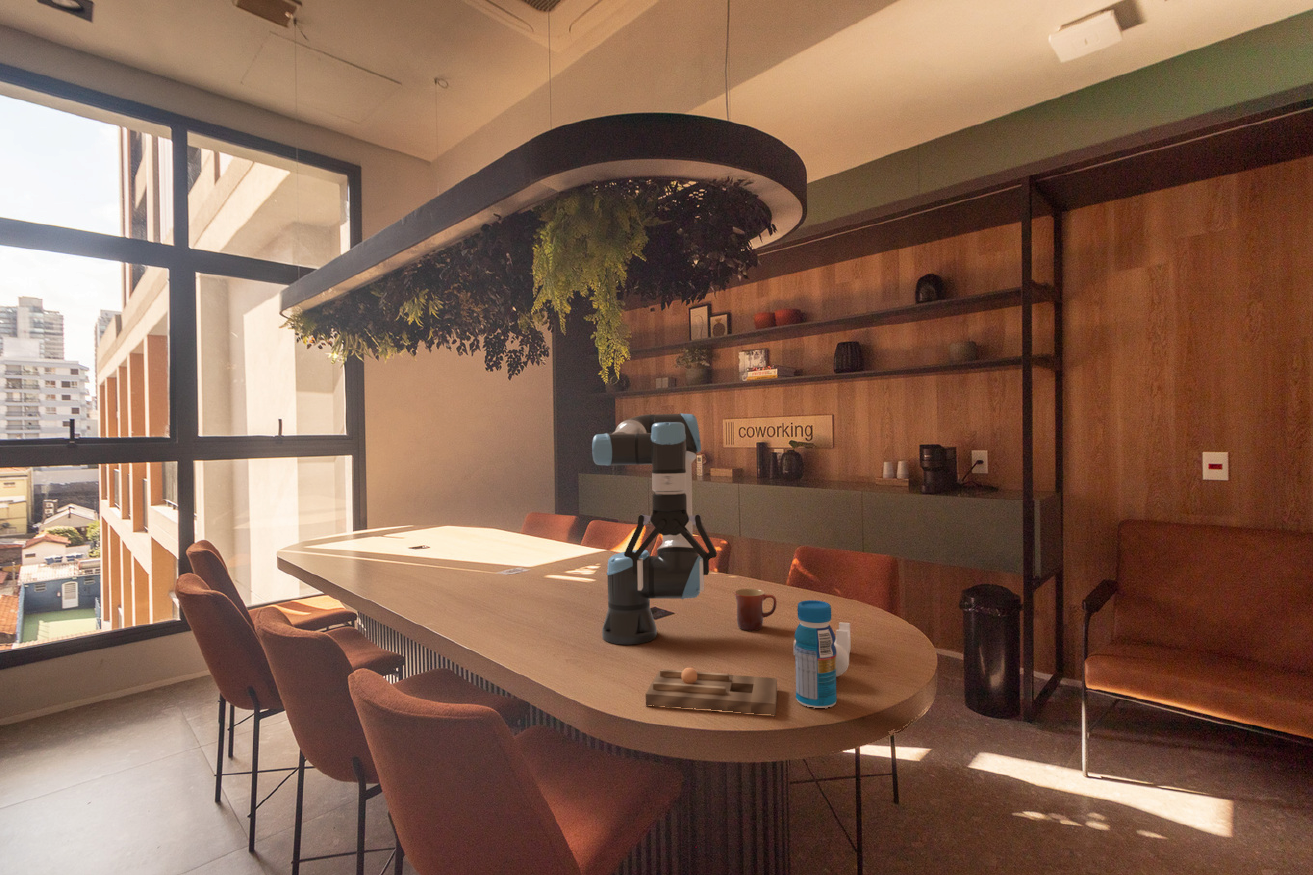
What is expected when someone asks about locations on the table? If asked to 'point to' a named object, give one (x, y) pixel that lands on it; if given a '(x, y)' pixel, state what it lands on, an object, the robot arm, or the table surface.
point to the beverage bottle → (815, 655)
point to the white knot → (841, 660)
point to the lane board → (714, 692)
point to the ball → (689, 676)
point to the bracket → (841, 637)
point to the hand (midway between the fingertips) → (671, 589)
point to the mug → (752, 608)
